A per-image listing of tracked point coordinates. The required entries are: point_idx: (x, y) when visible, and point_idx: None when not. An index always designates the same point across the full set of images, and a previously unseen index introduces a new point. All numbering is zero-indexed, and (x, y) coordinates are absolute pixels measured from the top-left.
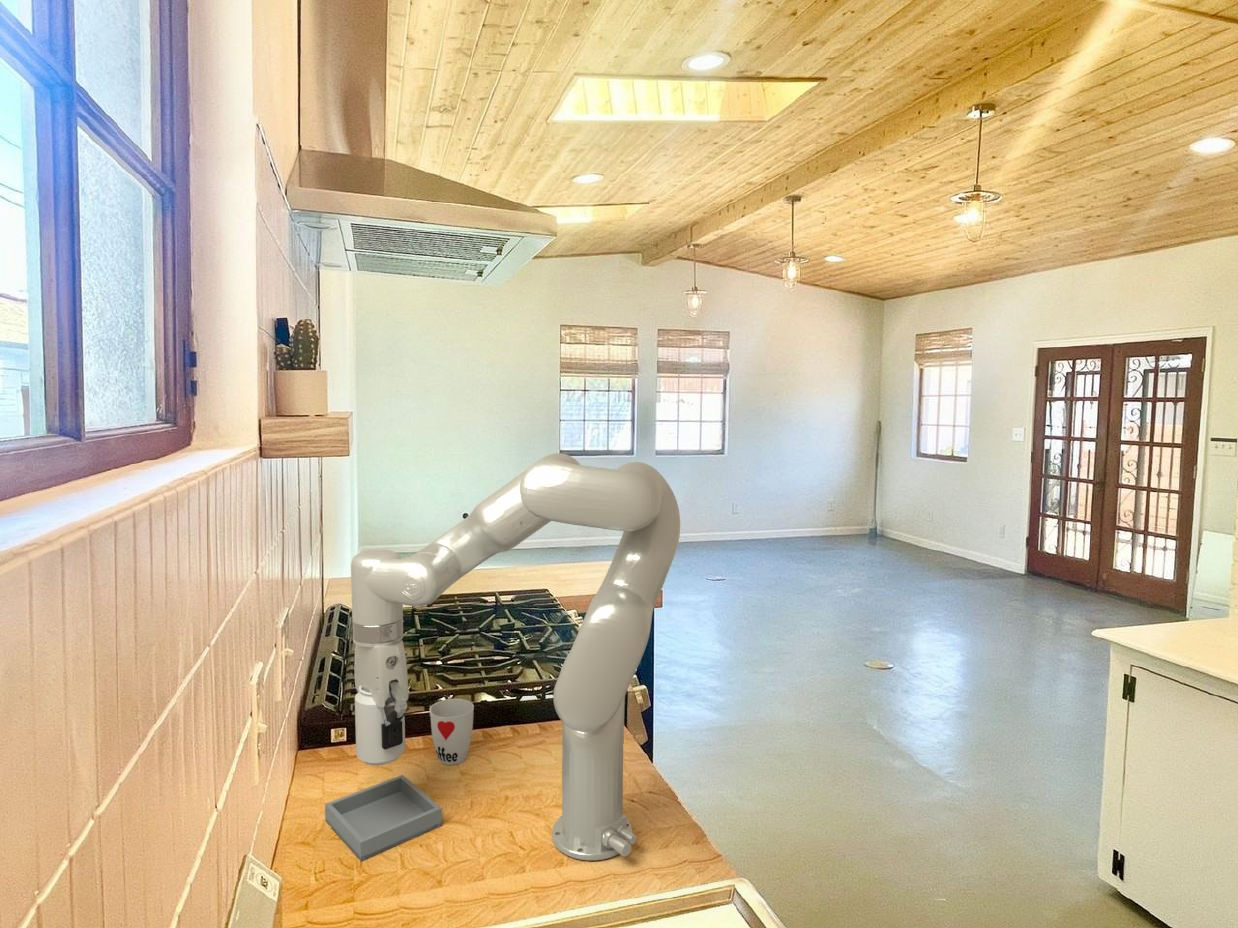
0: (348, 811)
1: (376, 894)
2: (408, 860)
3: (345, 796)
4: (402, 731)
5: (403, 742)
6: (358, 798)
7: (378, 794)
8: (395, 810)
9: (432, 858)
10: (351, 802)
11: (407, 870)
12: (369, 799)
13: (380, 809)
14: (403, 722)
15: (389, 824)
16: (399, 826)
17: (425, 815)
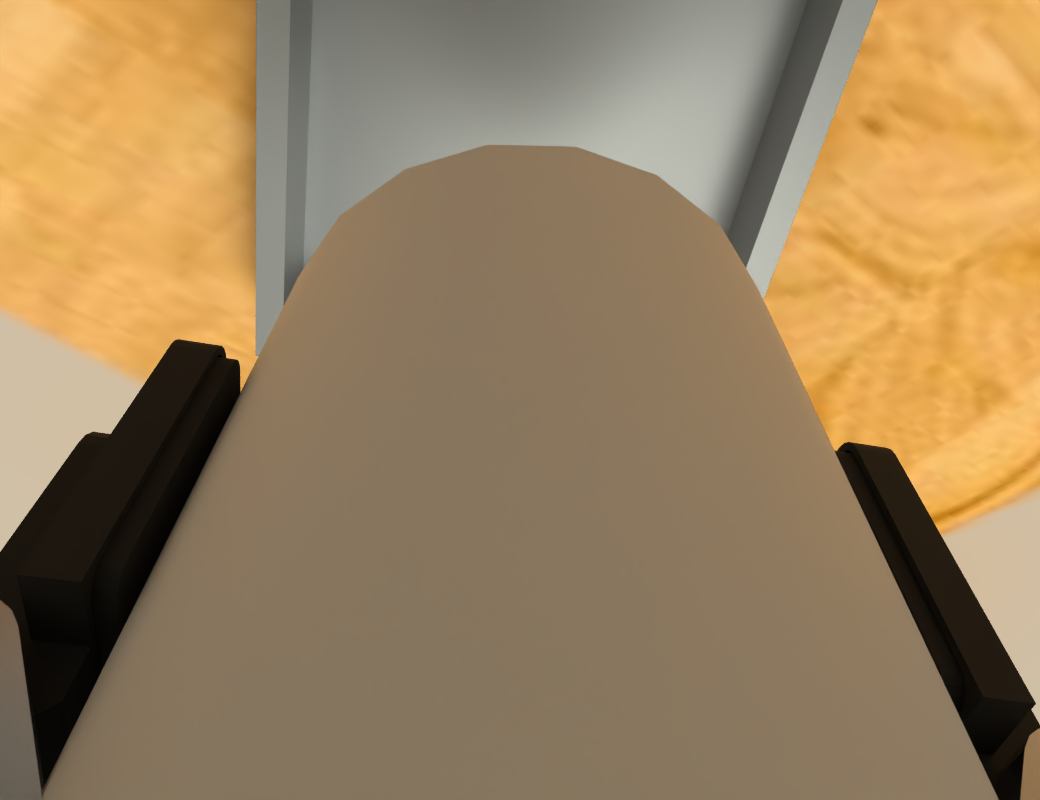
0: (306, 213)
1: (918, 442)
2: (896, 244)
3: (257, 247)
4: (944, 543)
5: (768, 318)
6: (294, 174)
7: (305, 27)
8: (506, 26)
9: (1006, 161)
10: (295, 214)
11: (941, 290)
12: (304, 90)
13: (421, 80)
14: (836, 470)
15: (597, 143)
16: (786, 233)
17: (852, 55)
